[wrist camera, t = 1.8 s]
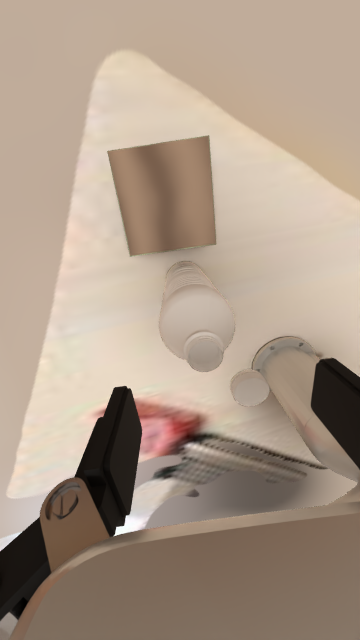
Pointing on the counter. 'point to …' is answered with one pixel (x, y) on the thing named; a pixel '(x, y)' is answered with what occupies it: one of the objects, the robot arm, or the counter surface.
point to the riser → (165, 195)
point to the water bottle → (203, 329)
